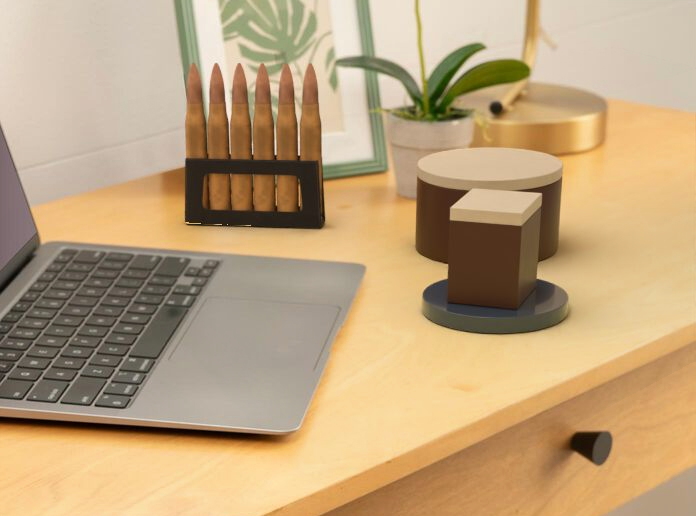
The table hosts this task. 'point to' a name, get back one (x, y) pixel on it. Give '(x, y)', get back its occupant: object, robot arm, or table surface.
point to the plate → (497, 310)
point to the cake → (483, 173)
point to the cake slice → (493, 248)
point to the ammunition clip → (241, 165)
